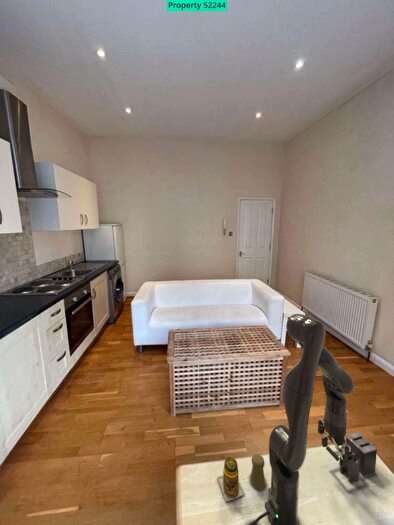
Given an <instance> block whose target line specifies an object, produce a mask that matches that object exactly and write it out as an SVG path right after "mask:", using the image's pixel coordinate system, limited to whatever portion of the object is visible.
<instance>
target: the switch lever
mask: <svg viewBox="0 0 394 525" xmlns="http://www.w3.org/2000/svg"><path fill="white" fill-rule="evenodd" d="M325 450H326V451H327V452H328V453H329V454H330V455H331V457H332V458H333V459H334V460H335V461H336V462H339V461H340V455H339V452H338V451H337V450H336V451H335V450H333V449H332V448H331V447H330V446H328V445H327V447H325ZM342 454H343V452H342ZM353 455H354V453H353Z"/></svg>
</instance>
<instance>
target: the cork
mask: <svg viewBox="0 0 394 525" xmlns="http://www.w3.org/2000/svg"><path fill="white" fill-rule="evenodd" d="M251 464H252V466H251V473H250V481H249V482H250V485H251V486H252V487H253V488H254V489H255V490H263V489H264V488H266V487H265V486H266V479H265V478H266V477H265V471H264V467H265V459H264V457H263V455H261V454H260V453H254V454H253V455H252V457H251Z"/></svg>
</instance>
